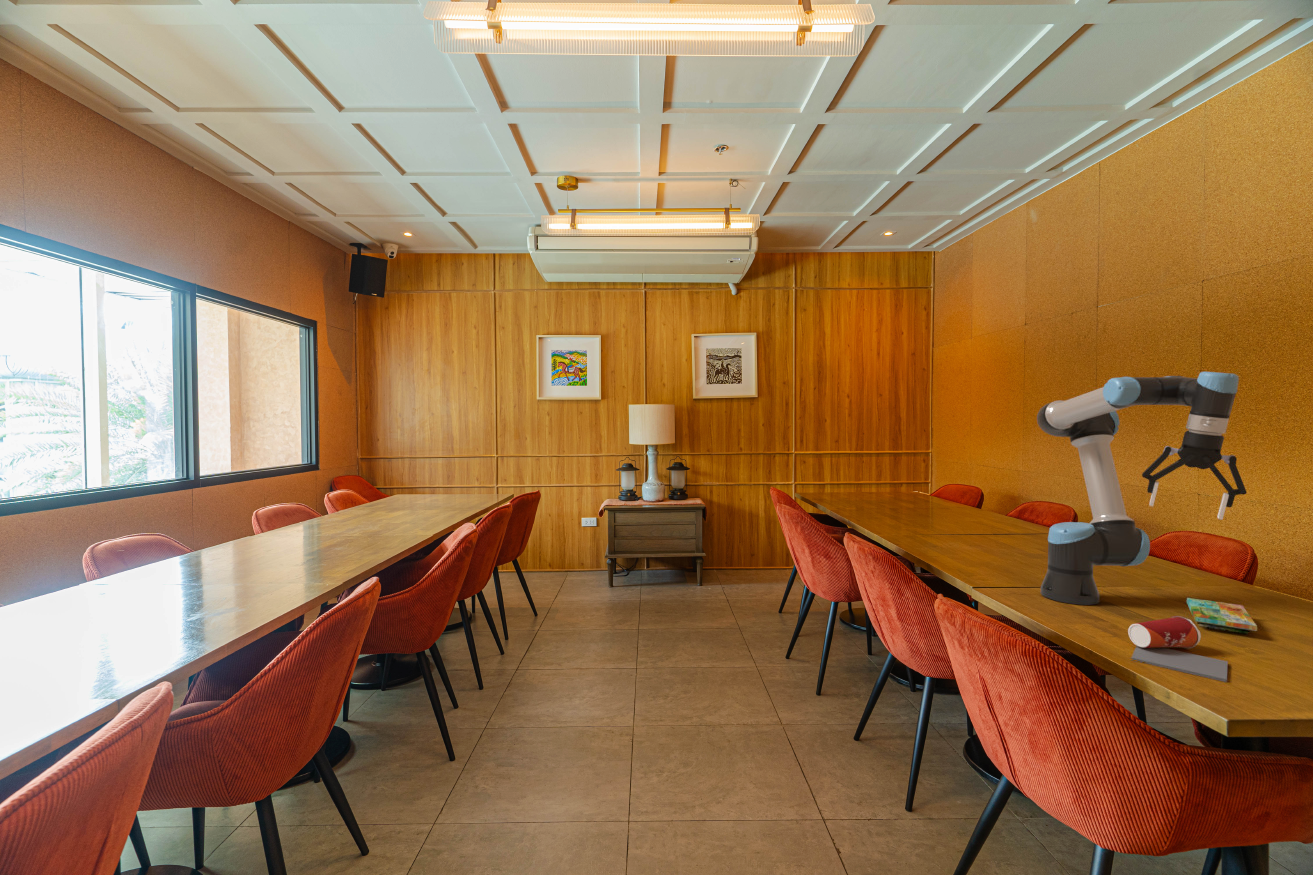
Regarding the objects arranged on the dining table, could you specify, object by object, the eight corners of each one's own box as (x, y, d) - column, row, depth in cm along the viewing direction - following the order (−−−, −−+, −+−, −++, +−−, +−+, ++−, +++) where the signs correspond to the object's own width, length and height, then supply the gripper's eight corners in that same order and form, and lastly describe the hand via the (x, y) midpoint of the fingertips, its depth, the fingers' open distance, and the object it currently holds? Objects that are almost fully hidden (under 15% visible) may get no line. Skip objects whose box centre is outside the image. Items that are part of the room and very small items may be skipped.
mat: (1131, 659, 136) (1131, 657, 136) (1138, 644, 146) (1138, 642, 146) (1226, 682, 125) (1226, 679, 125) (1227, 663, 134) (1227, 661, 134)
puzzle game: (1242, 602, 165) (1257, 622, 149) (1242, 618, 165) (1256, 640, 149) (1186, 594, 172) (1195, 613, 156) (1186, 610, 172) (1194, 630, 156)
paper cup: (1162, 643, 136) (1210, 639, 139) (1139, 613, 142) (1186, 609, 144) (1138, 657, 142) (1184, 653, 145) (1117, 627, 147) (1162, 624, 150)
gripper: (1142, 425, 154) (1124, 502, 158) (1276, 442, 139) (1253, 527, 143) (1142, 423, 160) (1124, 497, 164) (1271, 439, 144) (1248, 521, 148)
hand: (1184, 511), depth 153 cm, fingers open, 13 cm apart
